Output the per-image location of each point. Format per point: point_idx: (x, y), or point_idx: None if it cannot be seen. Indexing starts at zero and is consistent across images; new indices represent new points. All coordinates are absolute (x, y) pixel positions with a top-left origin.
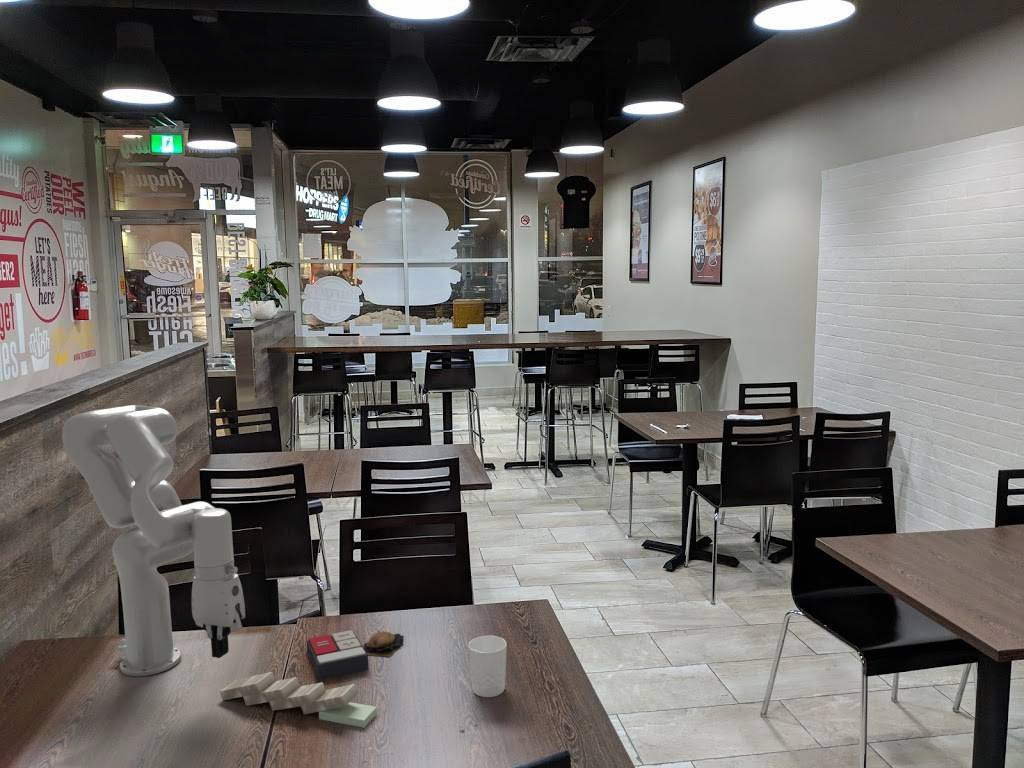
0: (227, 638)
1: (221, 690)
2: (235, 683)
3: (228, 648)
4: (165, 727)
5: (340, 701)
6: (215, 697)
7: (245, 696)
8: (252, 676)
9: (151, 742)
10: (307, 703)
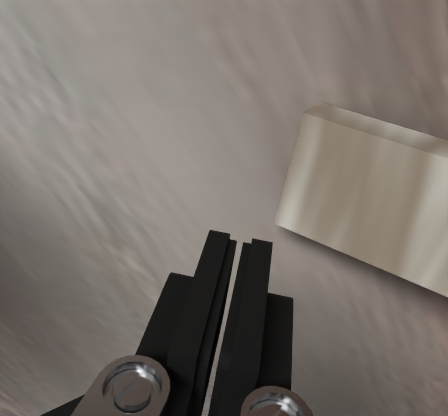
0: (288, 387)
1: (279, 218)
2: (333, 183)
3: (292, 299)
4: None
5: None
6: (243, 184)
7: None
8: (434, 162)
9: None
10: None
